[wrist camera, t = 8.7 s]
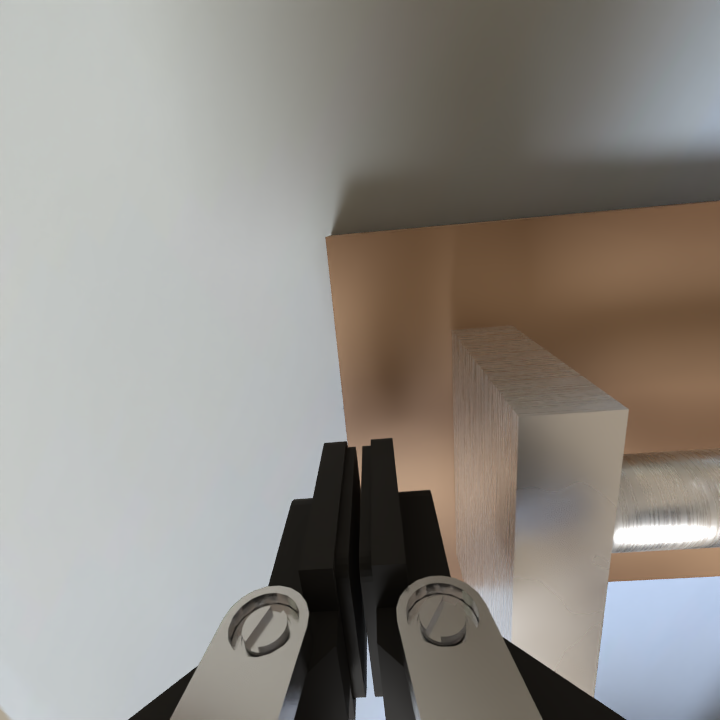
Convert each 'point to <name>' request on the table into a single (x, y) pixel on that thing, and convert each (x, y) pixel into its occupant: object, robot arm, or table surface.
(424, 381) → the gauge board
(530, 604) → the plunger
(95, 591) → the table surface
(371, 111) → the table surface
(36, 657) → the table surface
